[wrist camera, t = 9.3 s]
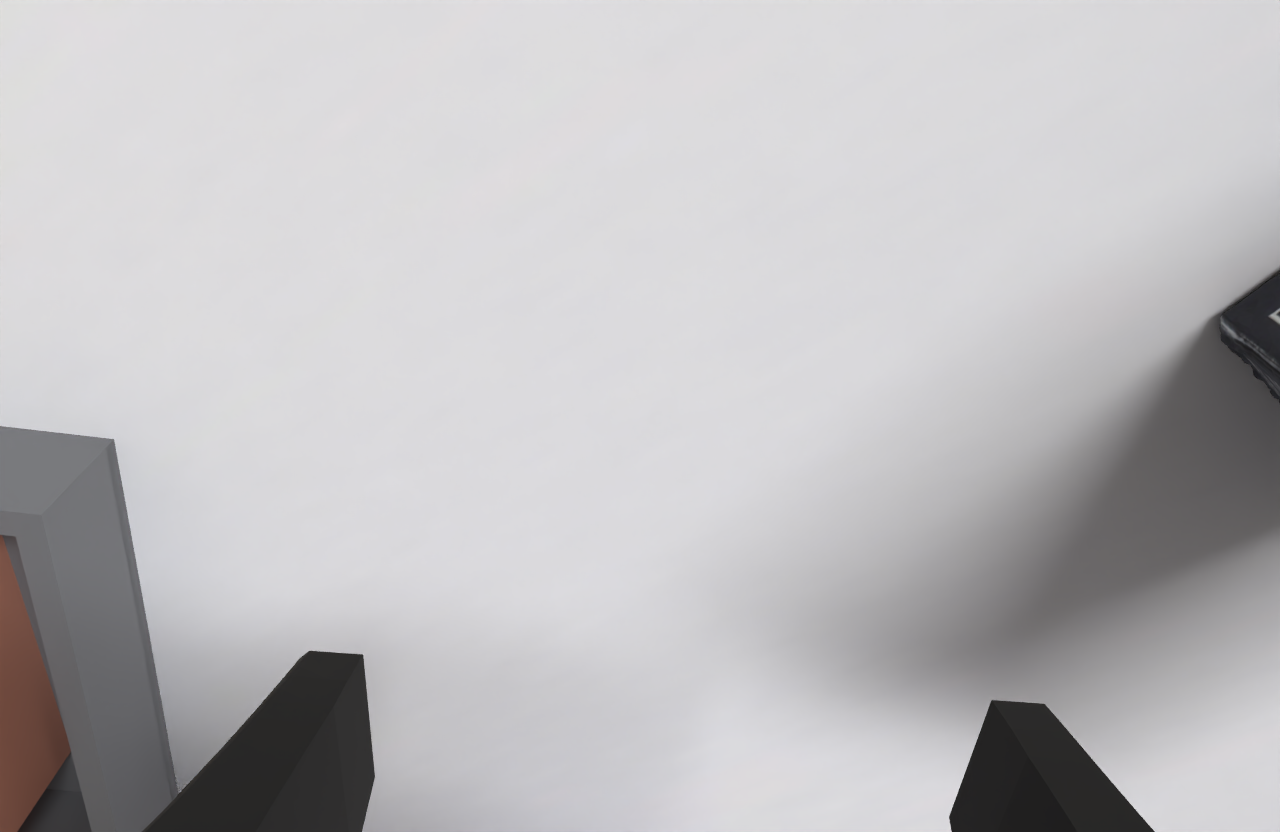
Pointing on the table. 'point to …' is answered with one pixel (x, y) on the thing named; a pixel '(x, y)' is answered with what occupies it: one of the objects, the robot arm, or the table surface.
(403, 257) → the table surface
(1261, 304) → the small box
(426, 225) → the table surface
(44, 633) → the charcoal crate
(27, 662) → the terracotta crate
